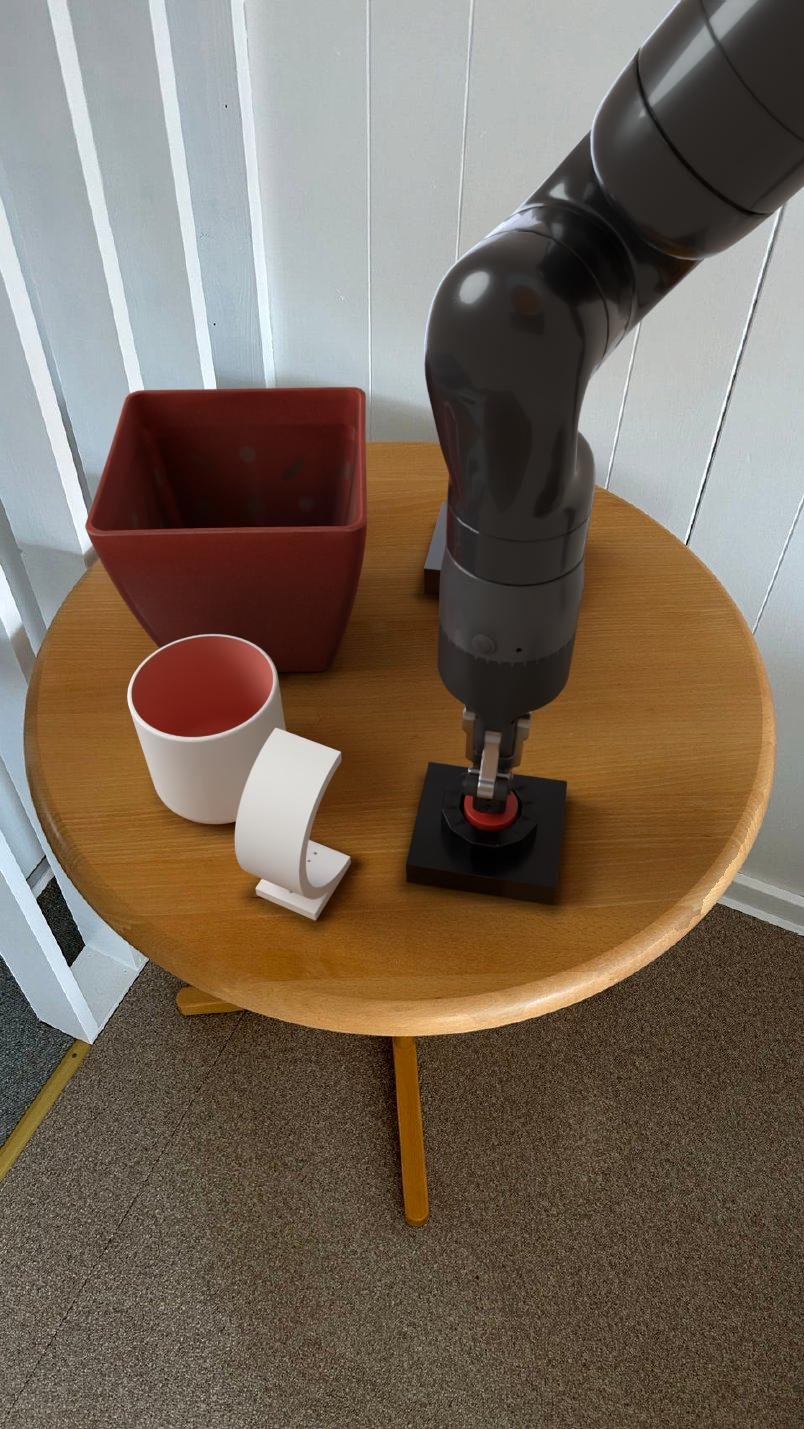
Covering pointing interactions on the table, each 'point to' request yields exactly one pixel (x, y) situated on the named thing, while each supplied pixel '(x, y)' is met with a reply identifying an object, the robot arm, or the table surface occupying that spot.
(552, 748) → the table surface
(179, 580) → the plant pot
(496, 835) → the button block
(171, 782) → the cup
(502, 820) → the button
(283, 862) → the headphone stand
